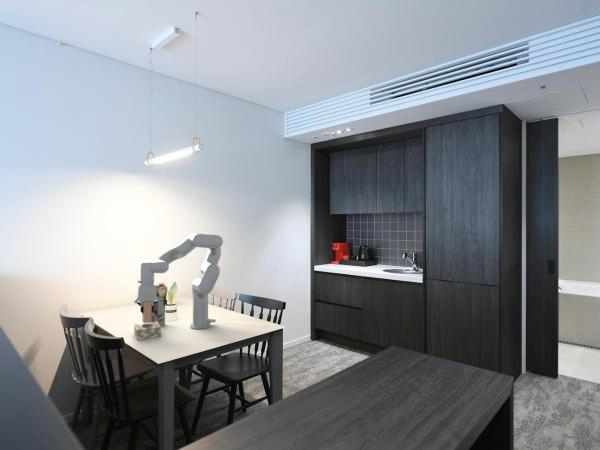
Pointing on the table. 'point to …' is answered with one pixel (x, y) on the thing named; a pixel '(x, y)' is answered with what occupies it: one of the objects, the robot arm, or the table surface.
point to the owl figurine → (162, 291)
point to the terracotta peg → (147, 312)
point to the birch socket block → (147, 330)
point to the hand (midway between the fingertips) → (146, 312)
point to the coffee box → (158, 312)
